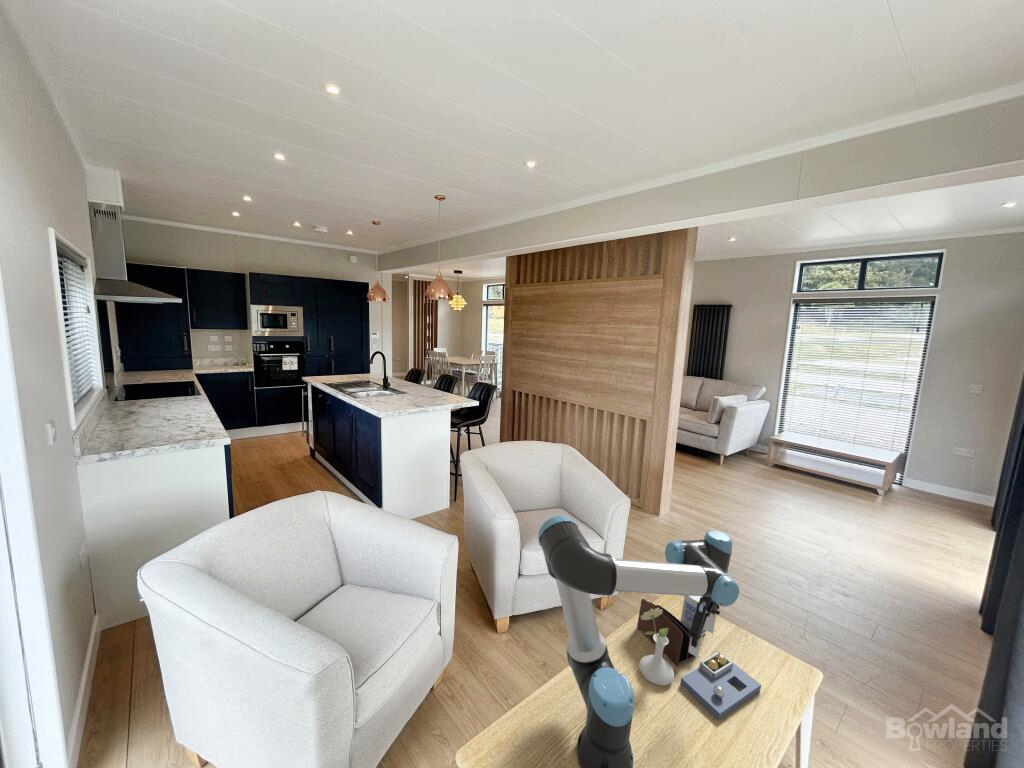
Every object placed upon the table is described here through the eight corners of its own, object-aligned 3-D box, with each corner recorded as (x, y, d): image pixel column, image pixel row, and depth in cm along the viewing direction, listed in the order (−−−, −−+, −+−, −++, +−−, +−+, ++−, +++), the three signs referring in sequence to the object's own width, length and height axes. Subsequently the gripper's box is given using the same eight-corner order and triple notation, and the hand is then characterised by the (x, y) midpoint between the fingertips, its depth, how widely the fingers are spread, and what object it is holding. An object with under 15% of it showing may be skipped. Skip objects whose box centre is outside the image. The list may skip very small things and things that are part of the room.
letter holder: (676, 667, 147) (682, 632, 144) (636, 628, 164) (640, 596, 162) (696, 657, 151) (701, 623, 149) (655, 620, 169) (659, 589, 166)
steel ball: (719, 702, 131) (721, 693, 131) (710, 694, 134) (711, 685, 133) (725, 698, 133) (727, 689, 132) (716, 690, 136) (718, 681, 135)
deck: (718, 720, 128) (720, 708, 127) (680, 684, 140) (682, 672, 139) (759, 691, 139) (762, 679, 138) (721, 659, 151) (723, 649, 150)
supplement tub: (680, 632, 163) (685, 598, 160) (679, 615, 172) (684, 583, 169) (707, 640, 160) (713, 605, 157) (705, 623, 169) (710, 590, 166)
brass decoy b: (721, 670, 143) (723, 661, 142) (712, 662, 146) (713, 654, 146) (728, 666, 145) (729, 657, 144) (718, 659, 148) (720, 650, 147)
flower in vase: (668, 662, 148) (677, 599, 144) (677, 691, 137) (687, 624, 133) (631, 657, 150) (638, 595, 145) (637, 685, 138) (645, 619, 134)
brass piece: (713, 676, 141) (714, 666, 140) (703, 668, 144) (705, 658, 143) (719, 672, 143) (721, 662, 142) (710, 664, 146) (711, 655, 145)
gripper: (710, 607, 116) (699, 672, 120) (736, 570, 135) (726, 628, 138) (683, 593, 121) (673, 656, 125) (712, 559, 140) (702, 616, 143)
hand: (701, 642), depth 132 cm, fingers open, 13 cm apart
